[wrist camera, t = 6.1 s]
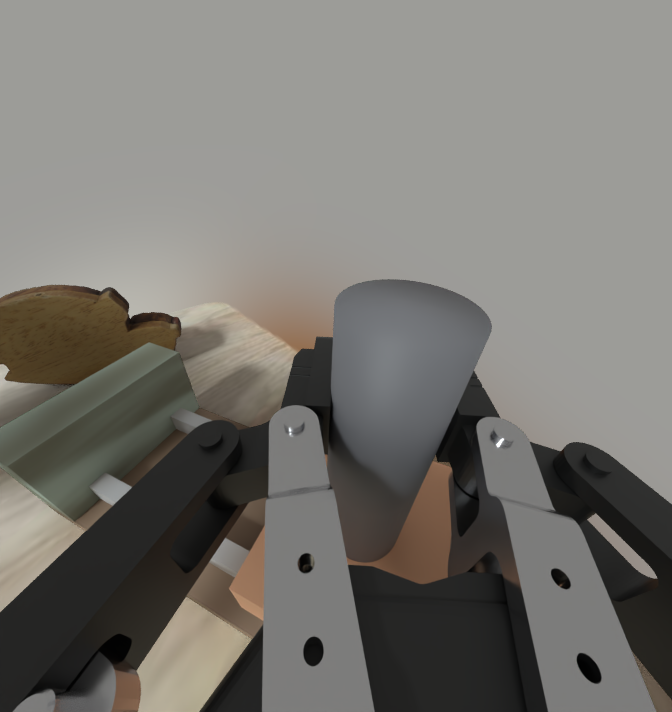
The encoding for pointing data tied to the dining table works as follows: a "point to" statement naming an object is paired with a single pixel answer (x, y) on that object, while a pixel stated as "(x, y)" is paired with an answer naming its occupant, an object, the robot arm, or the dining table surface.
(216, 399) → the dining table surface
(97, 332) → the wooden carving
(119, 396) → the rail bed
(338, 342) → the carriage
